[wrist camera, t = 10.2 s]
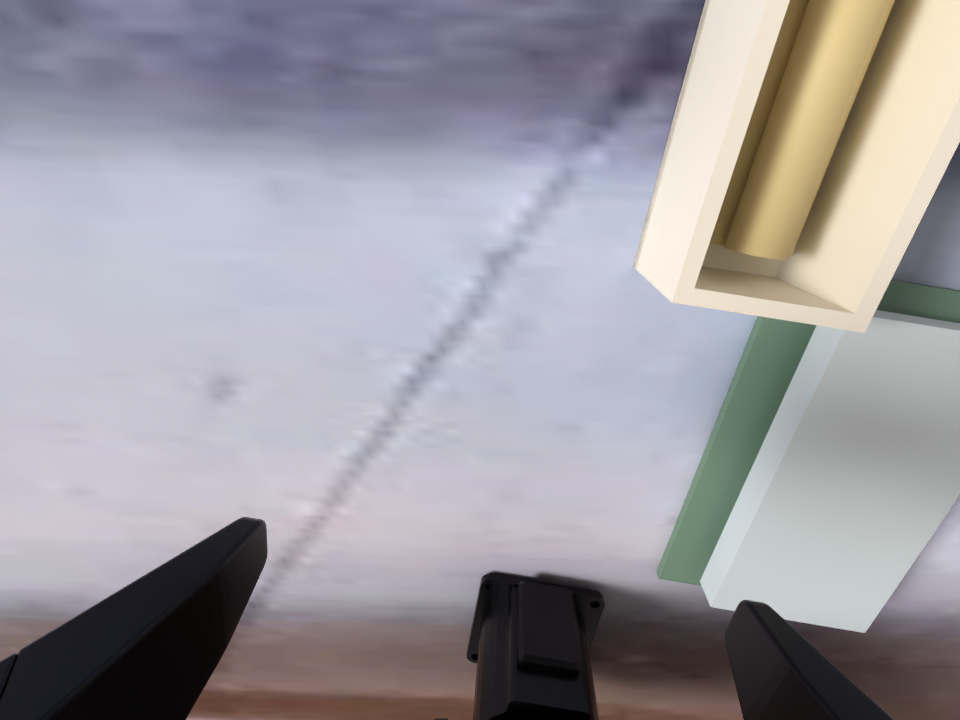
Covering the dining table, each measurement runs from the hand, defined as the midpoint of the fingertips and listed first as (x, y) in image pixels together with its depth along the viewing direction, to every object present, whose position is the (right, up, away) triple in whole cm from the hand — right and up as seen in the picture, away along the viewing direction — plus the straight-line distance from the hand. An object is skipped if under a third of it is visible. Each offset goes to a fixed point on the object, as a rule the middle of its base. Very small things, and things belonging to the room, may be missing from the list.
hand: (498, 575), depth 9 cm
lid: (+15, -1, +11) cm, 18 cm away
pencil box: (+9, +14, +7) cm, 18 cm away
